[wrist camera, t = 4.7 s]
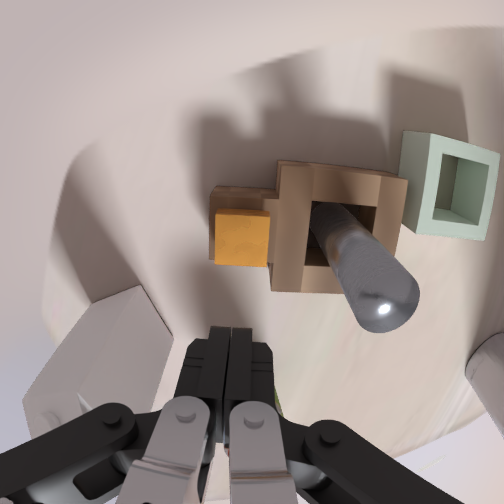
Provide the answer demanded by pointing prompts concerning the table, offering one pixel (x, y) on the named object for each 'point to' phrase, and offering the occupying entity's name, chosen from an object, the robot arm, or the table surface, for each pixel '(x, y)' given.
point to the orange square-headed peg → (241, 237)
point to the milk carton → (102, 363)
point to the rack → (465, 189)
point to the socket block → (298, 217)
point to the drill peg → (364, 270)
